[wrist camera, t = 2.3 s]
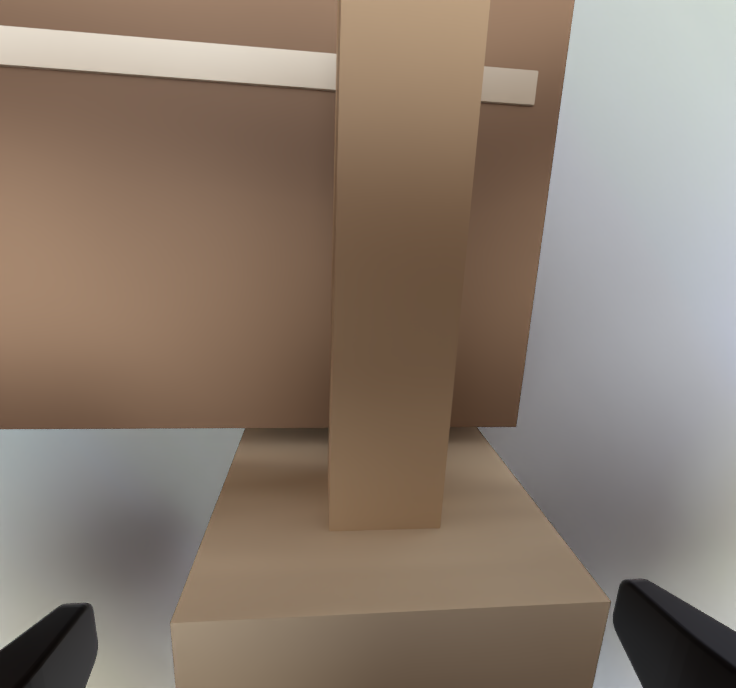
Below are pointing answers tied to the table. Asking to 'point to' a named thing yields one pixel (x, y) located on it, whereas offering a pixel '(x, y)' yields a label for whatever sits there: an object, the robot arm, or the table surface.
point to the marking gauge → (390, 431)
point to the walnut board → (229, 211)
